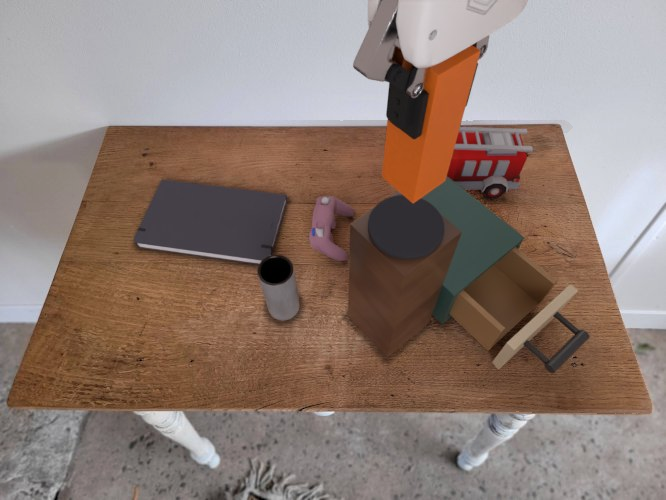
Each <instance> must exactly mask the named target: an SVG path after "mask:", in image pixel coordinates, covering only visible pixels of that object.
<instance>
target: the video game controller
mask: <svg viewBox="0 0 666 500" xmlns="http://www.w3.org/2000/svg"><path fill="white" fill-rule="evenodd" d="M313 208H314V209H313V212H312V218H311V229H310V230H309V233H308V239H309V244H310V246H311V248H312V249H313V250H314V251H318V252H319V253H321V254H323V255H324V256H326V257H328V258H330V259H333V260H335V261H340V262H345V261H347V260H349V254H348V253H347V251H345V250H344V249H343V248H341V247H339V246H338V245H337V244H335V243H334V237H333V233H332V232H331V231H332V230H334V229H336V228H337V227H336V226H337V220H336V218H335V214H336V215H339V216H342V217H348V218H349V217H353V216H354V215H355V209H354V208H353V206H351V205H349V204H348V203H347V202H344V201H342V200H340V199H338V198H336V197H335V196H333V195H321V196H318V197H317V198H316V200H315V205H314V207H313Z"/></svg>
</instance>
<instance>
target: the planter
mask: <svg viewBox="0 0 666 500" xmlns="http://www.w3.org/2000/svg"><path fill="white" fill-rule="evenodd" d="M256 273H257V277H258V281H259V284H260V288H261V290H262V294H263V297H264V301H265V304H266V307H267V310H268V313H269V314H270V316H271V317H272V318H274V319H275V320H278V321H287V320H291V319H292V318H294V317H295V316H296V315H297V314H298V313H299V311H300V305H301V304H300V303H301V302H300V297H299V291H298V285H297V279H296V274H295V268H294V264H293V262H292V261H291V259H290V258H289V257H288V256H286V255H283V254H272V255H270V256H268V257H266V258H264V259H263V260H262V261H261V262H260V264H259V265H257V272H256Z"/></svg>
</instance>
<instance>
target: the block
mask: <svg viewBox="0 0 666 500" xmlns="http://www.w3.org/2000/svg"><path fill="white" fill-rule="evenodd" d="M480 52H481V50H479V49H478V48H476V47H474V46H473V45H471V46H469V47H468V48H466V49H464V50H462V51H461V52H459V53H457V54H455V55H454V56H452V57H450V58H448V59H446V60H445V61H443V62H441V63H439V64H437V65H434V66H432V67H430V70H429V73H428V77H427V80H426V83H425V86H424V90H426V91H427V92H428V93H429V97H428V102H427V107H426V113H425V118H424V124H423V129H422V134H421V136H420V137H418V138H416V139H412V138H411V137H410V136H408V135H407V134H406V133H404V132H403V131H402V130H401V129H399V128H397V127H396V126H394V125H393V124H392V123H391V122H390V121H389V120H388V119H387V123H386V132H385V141H384V143H385V144H384V150H383V151H384V152H383V161H382V170H381V178H382V179H384V181H386V182H387V183H388V184H389V185H390V186H392V187H393V189H395V190H396V191H397V192H398V191H399V192H400V193H401V194H402V195H403V196H405V197H406V198H407V199H408V200H409V201H410V202H412V203H415V202H416V201H418V200H419V199H421V198H422V197H423V196H425V195H426V194H428V193H429V192H430V191H432V190H433V189H435V188H436V187H438V186H439V185H440V184H442V183H443V182H445V180H446V177H447V173H448V169H449V166H450V162H451V158H452V155H453V151H454V147H455V144H456V140H457V136H458V133H459V129H460V127H461V124H462V121H463V118H464V114H465V110H466V107H467V106H466V103H467V99H468V96H469V92H470V88H471V85H472V81H473V77H474V74H475V70H476V66H477V63H478V62H479V60H480V59H479V55H480ZM478 59H479V60H478ZM478 64H479V63H478ZM412 65H413V64H412V63H410V62H408V61H407V60H405V59H404V60H403V64H402V67H404V68H405V69H406V70H408V71H409V72H411V69H412ZM476 71H477V70H476ZM475 75H476V74H475ZM474 78H475V77H474ZM473 82H474V81H473ZM472 86H473V85H472ZM471 89H472V88H471ZM470 93H471V92H470ZM469 97H470V96H469ZM468 100H469V99H468ZM467 104H468V103H467Z"/></svg>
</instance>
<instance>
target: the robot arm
mask: <svg viewBox="0 0 666 500" xmlns="http://www.w3.org/2000/svg"><path fill="white" fill-rule="evenodd" d="M528 1H529V0H367V23H368V24H367V26H368V29H367V31H366V33H365V36H364V38H363V40H362V43H361V44H360V46H359V49H358V51H357V53H356V56H355V58H354V60H353V63H352V68H353V69H354V70H355V71H357V72H358V73H359V74H361V75H362V76H363V77H365V78H366V79H368V80H371V81H376V82H382V83H384V82H386V83H388V92H387V103H386V113H385V116H386V118H387V121H388V120H389V121H390V122H391V123H392V124H393V125H394V126H396V127H397V128H399V129H401V130H402V131H403V132H404V133H406V134H407V135H408V136H410V137H411V138H412V139H416V138H418V137H420V136H421V134H422V129H423V124H424V118H425V113H426V107H427V102H428V97H429V93H428V92H427V91H426V90H424V86H425V83H426V80H427V77H428V73H429V70H430V67H432V66H434V65H437V64H439V63H441V62H443V61H445V60H446V59H448V58H450V57H452V56H454V55H455V54H457V53H459V52H461V51H462V50H464V49H466V48H468V47H469V46H471V45H473V46H474V47H476V48H478V49H479V50H481V52H480V55H479V59H478V61H479V60H481V59H482V58H483V57H484V55H485V54H486V53H487V51H488V47H489V41H490V35H491V34H493V33H495V32H497V31H498V30H500V29H501V28H503V27H505V26H507V25H508V24H509V23H511V22H512V21H514V20H515V19H516V18H517V17H518V16H520V14H521V13H522V12H523V11H524V9H526V6H527V3H528ZM404 59H405V60H407V61H408V62H410V63H412V64H413V65H412V69H411V72H409V71H408V70H406V69H405V68H404V67H402V64H403V60H404ZM478 67H479V63H477V66H476V70H475V74H474V77H473V81H472V85H471V88H470V92H469V96H468V99H467V103H466V107H467V106H468V103H469V99H470V96H471V92H472V88H473V85H474V80H475V78H476V74H477V71H478V70H477V69H478Z"/></svg>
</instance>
